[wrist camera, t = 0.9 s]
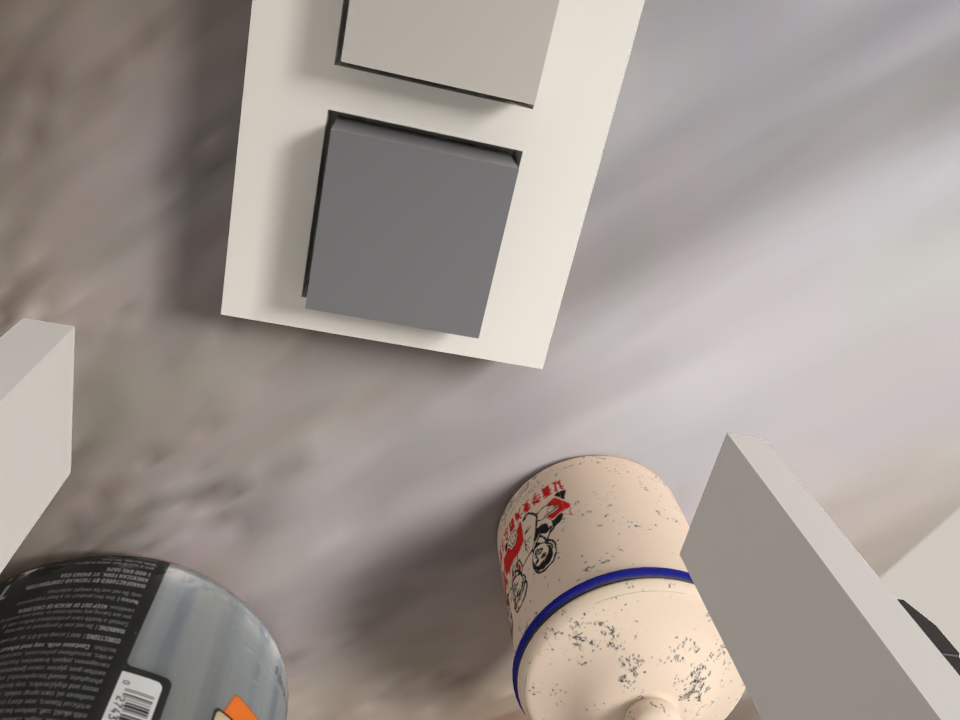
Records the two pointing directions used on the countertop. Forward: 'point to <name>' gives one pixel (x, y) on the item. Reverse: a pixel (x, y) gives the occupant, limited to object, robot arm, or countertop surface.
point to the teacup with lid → (607, 600)
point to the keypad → (433, 111)
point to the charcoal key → (409, 227)
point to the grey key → (455, 42)
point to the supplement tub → (133, 646)
